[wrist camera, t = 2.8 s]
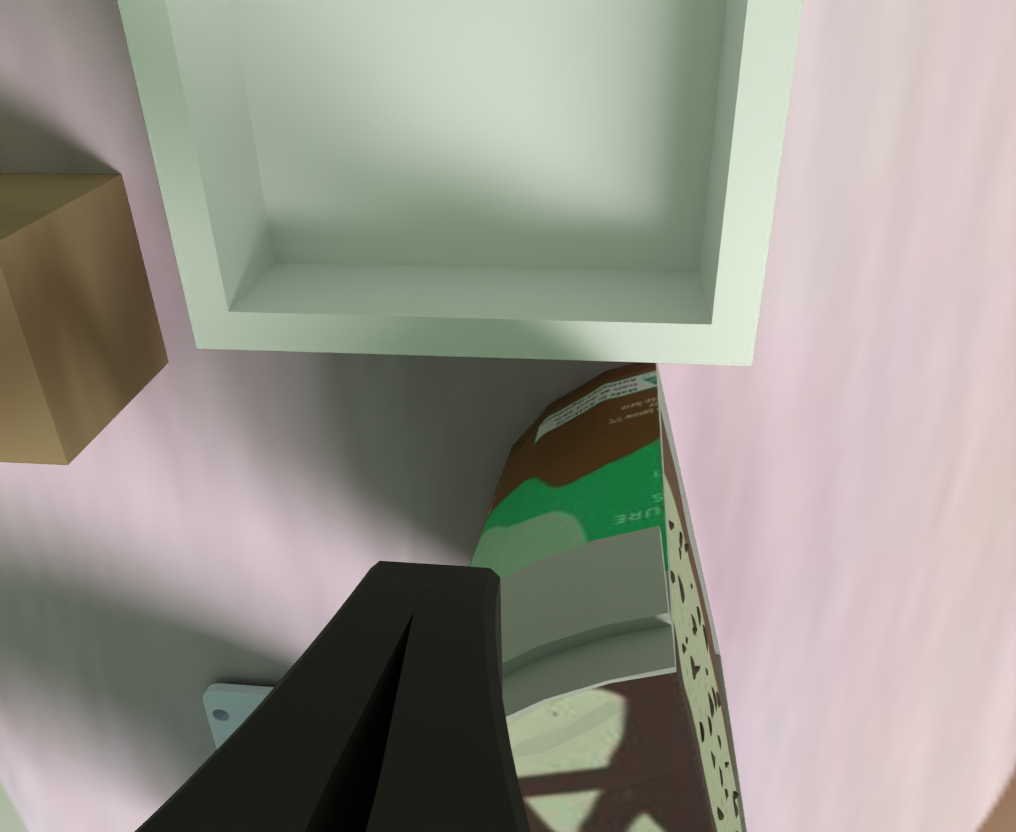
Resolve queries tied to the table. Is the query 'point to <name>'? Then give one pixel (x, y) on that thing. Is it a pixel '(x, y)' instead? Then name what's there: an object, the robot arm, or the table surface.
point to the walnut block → (70, 313)
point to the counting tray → (469, 172)
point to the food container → (608, 622)
